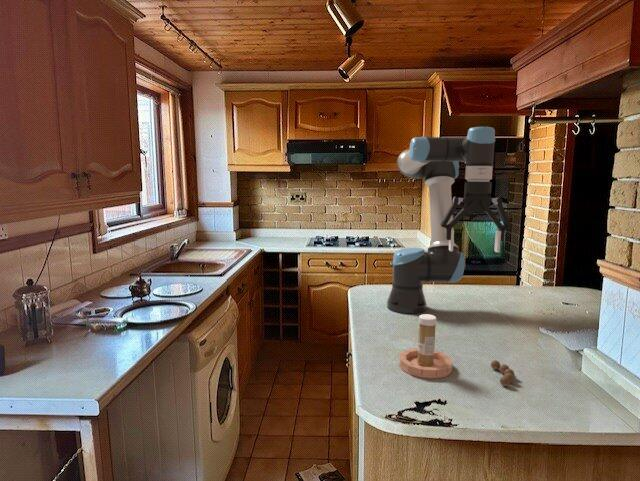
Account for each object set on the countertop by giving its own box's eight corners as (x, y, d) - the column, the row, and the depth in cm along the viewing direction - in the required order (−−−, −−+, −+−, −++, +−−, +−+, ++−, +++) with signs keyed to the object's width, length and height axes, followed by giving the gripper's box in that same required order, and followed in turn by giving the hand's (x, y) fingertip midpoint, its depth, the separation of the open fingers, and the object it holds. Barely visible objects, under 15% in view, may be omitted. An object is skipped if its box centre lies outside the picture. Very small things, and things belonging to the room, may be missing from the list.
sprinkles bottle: (414, 360, 118) (416, 313, 115) (430, 359, 118) (432, 313, 116) (420, 367, 113) (422, 319, 111) (436, 367, 113) (439, 318, 111)
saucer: (397, 354, 123) (397, 347, 123) (446, 357, 122) (446, 349, 121) (401, 377, 109) (401, 368, 109) (457, 380, 108) (457, 371, 108)
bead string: (487, 366, 116) (488, 358, 115) (506, 367, 115) (506, 359, 115) (501, 387, 104) (502, 378, 104) (521, 389, 104) (522, 379, 103)
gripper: (437, 180, 124) (433, 252, 127) (526, 181, 121) (520, 254, 124) (433, 180, 131) (430, 248, 134) (517, 181, 128) (512, 250, 132)
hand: (473, 251), depth 129 cm, fingers open, 13 cm apart
